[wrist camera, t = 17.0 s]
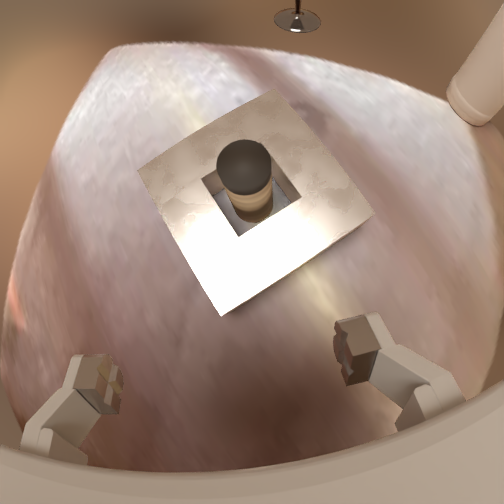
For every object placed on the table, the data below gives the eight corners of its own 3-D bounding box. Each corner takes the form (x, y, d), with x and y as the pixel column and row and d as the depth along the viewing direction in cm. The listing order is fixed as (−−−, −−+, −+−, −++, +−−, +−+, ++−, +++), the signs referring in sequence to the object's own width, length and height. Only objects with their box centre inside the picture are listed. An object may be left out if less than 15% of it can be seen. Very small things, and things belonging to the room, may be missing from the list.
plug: (274, 220, 31) (274, 185, 21) (235, 224, 31) (217, 191, 21) (270, 183, 31) (268, 136, 21) (232, 187, 32) (215, 142, 22)
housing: (229, 312, 30) (220, 316, 25) (155, 187, 32) (137, 170, 27) (360, 226, 30) (375, 213, 25) (274, 114, 33) (274, 88, 28)
